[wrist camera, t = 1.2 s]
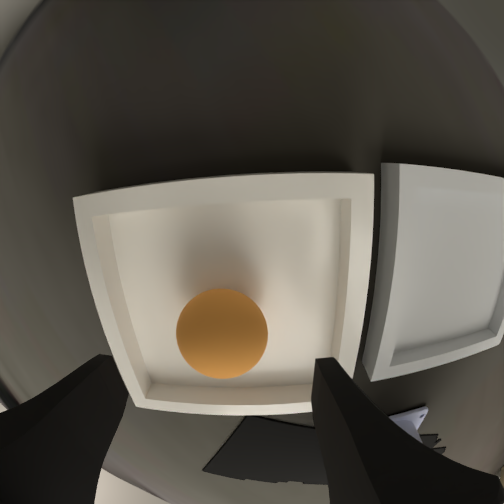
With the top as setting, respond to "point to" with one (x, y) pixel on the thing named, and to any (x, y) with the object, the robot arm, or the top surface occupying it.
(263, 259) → the dish
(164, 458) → the top surface
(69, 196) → the top surface
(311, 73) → the top surface
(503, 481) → the planter bowl
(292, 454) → the black flat plate
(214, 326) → the ball
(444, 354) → the tray
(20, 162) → the top surface
